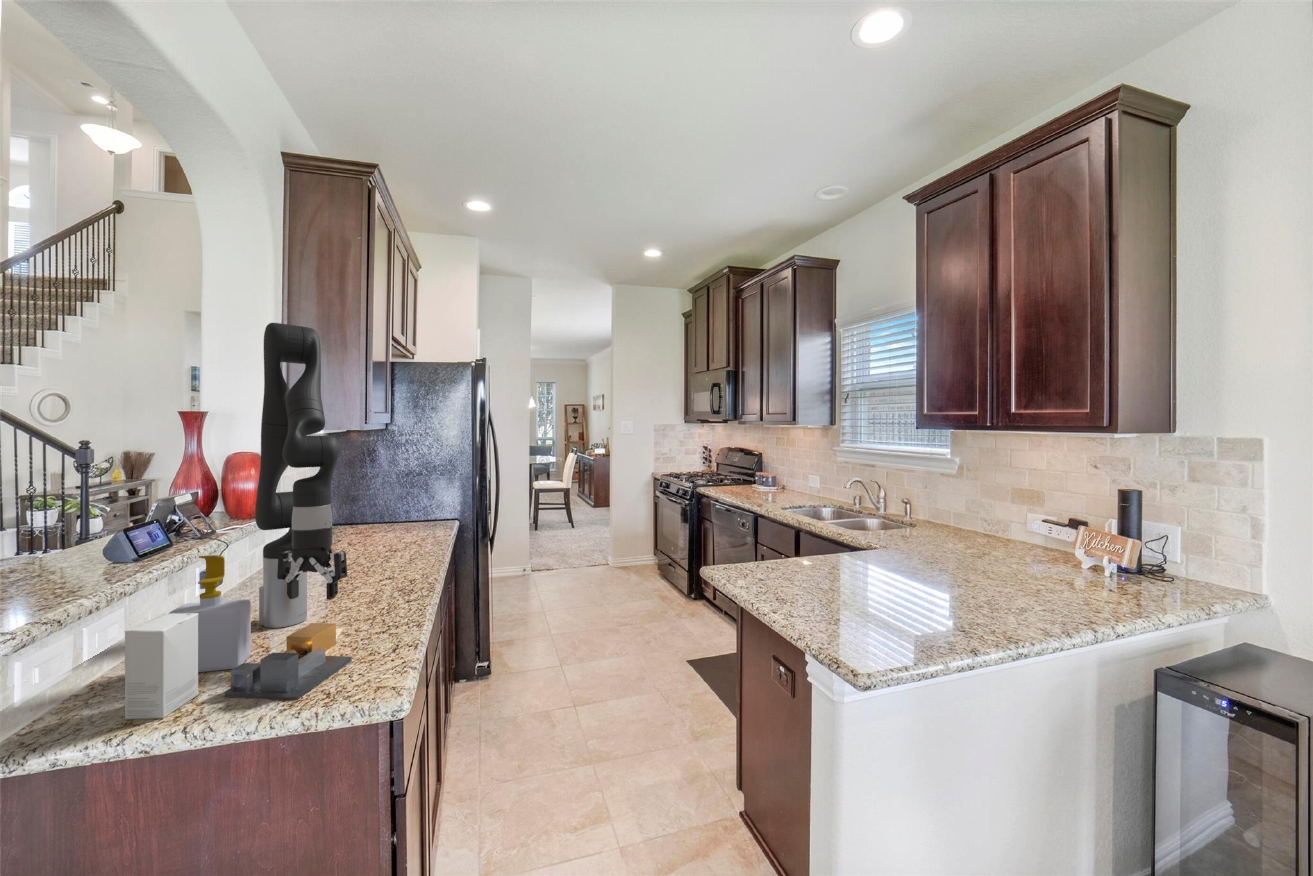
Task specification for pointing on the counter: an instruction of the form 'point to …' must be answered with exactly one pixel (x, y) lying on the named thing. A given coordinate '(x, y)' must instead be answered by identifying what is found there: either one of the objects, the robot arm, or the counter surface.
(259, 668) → the stand
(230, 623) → the soap bottle
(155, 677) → the skincare box
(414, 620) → the counter surface
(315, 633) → the block
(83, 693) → the counter surface
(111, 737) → the counter surface
